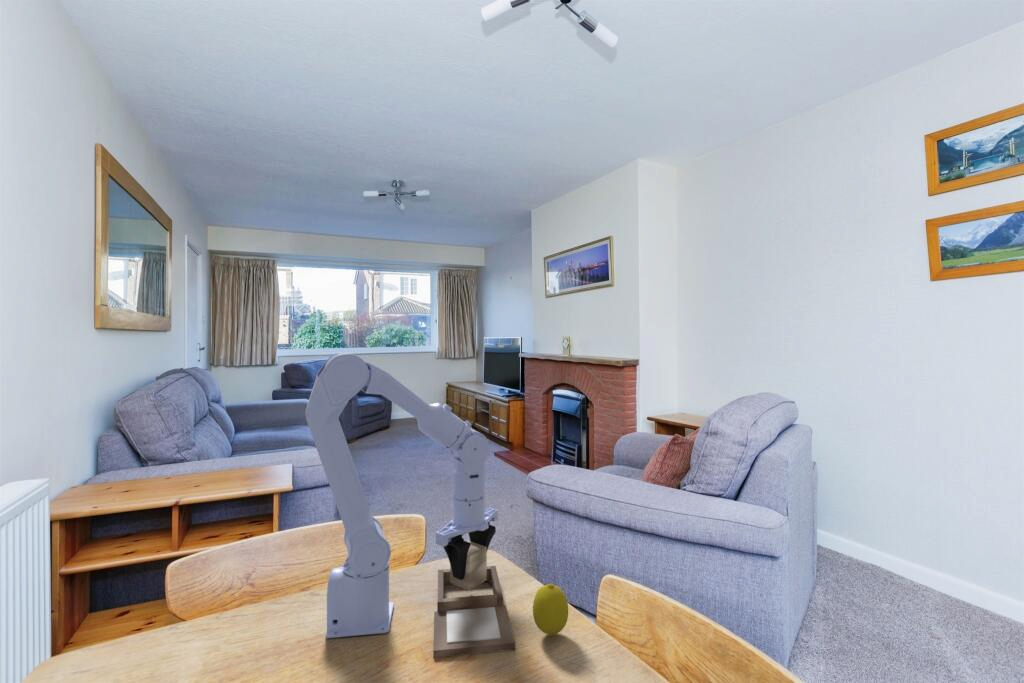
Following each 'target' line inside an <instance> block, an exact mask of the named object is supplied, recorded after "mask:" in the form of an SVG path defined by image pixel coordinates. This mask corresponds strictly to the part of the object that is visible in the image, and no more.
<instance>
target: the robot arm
mask: <svg viewBox="0 0 1024 683" xmlns="http://www.w3.org/2000/svg"><path fill="white" fill-rule="evenodd" d="M361 391H362V392H363V393H365V394H367V395H368V394H369V395H381V396H383V397H384V398H386V399H387V400H389V401H390V402H392V403H393V404H395V405H396V406H397V407H399V408H401V409H403V411H405V412H407V413H408V414H409V415H411V416H412V417H414V418H415V419H416V421H417V429H418V431H420V432H421V433H423V434H424V436H425V435H426V436H427V437H428V438H430V439H431V440H432V441H434V442H435V443H437V444H438V445H439V446H441V447H442V448H443V449H445V450H448V451H449V453H450V454H451V455H454V456H453V470H452V473H453V474H452V519H451V520H450V521H449V522H448V523H447V524H446V525H445V526H443V527H442V528H441V529H440V530H438V531H436V532H435V545H439V546H442V549H444V551H445V553H446V555H447V559H448V562H449V566H450V565H451V569H452V573H453V577H455V578H457V579H460V580H463V579H464V577H465V571H466V559H467V554H468V550H469V547H470V545H471V543H469V542H467V540H465V538H463V536H464V535H466V534H468V536H469V541H471V542H474V543H477V544H480V545H483V546H485V547H487V551H488V549H489V547H490V543H491V542H492V539H493V537H494V535H495V533H496V528H497V527H496V526H495V525H492V524H491V522H497V521H498V519H499V518H498V516H499V515H498V514H499V510H498V509H495V508H491V507H488V508H487V509H486V505H485V504H486V501H485V500H486V461H487V460H488V458H489V456H490V454H491V450H492V449H491V448H492V447H491V446H490V445H489V441H488V439H487V436H485V434H483V433H481V432H479V431H477V430H475V429H474V428H473V427H472V426H473V424H472V423H471V422H470V421H468V420H465V421H464V420H463V419H462V418H460V417H459V416H457V415H456V414H455V413H454V412H452V410H453V408H452V406H450V405H448V404H446V403H444V404H442V403H441V402H434V403H430V404H429V403H427V402H425V401H424V399H422V398H421V397H419V396H418V395H417V394H416V393H414V391H412V390H411V389H409V388H408V387H406V386H405V385H404V384H403V383H401V382H400V380H398V379H397V378H395V377H394V376H393V375H391V374H390V373H388V371H385V370H383V369H381V368H380V367H378V366H376V365H374V364H372V363H370V362H367V361H365V360H364V359H363V358H361V357H360V356H359V355H356V354H353V353H349V352H337V353H334V354H332V355H331V356H329V357H328V358H327V359H326V360H325V362H324V363H323V364H322V365H321V367H320V368H319V370H317V373H316V375H315V379H314V383H313V386H312V390H311V392H310V395H309V398H308V401H307V405H306V408H305V412H304V414H305V420H306V422H307V425H308V428H309V431H310V435H311V436H312V440H313V443H314V445H315V449H316V451H317V453H318V457H319V459H320V462H321V464H322V467H323V470H324V474H325V477H326V479H327V481H328V482H327V483H328V484H329V485H328V486H330V491H331V493H332V496H333V498H334V501H335V505H336V506H337V510H338V513H339V516H340V518H341V522H342V524H343V527H344V536H343V537H344V538H343V539H344V545H345V547H346V549H347V550H346V551H347V557H346V559H345V561H344V562H343V565H342V566H338V567H333V568H332V569H331V570H330V572H329V578H328V580H327V591H326V632H325V638H326V639H333V638H342V637H343V638H344V637H354V636H364V635H365V636H366V635H376V634H378V635H379V634H387V633H388V632H389V631H390V628H391V623H392V616H393V612H394V611H393V610H394V602H392V601H390V559H391V554H392V550H391V546H390V543H389V541H388V540H387V539H386V537H385V534H384V531H383V526H382V524H381V523H380V522H379V520H378V519H377V518H376V517H374V516H373V513H372V511H371V509H370V506H369V502H368V500H367V497H366V494H365V492H364V488H363V485H362V482H361V479H360V477H359V473H358V471H357V468H356V464H355V462H354V459H353V456H352V453H351V451H350V448H349V445H348V442H347V439H346V435H345V433H344V431H343V428H342V424H341V422H340V419H339V418H340V416H341V414H342V413H343V411H344V409H345V407H346V406H347V404H349V401H350V400H351V399H352V398H353V397H354V396H356V395H357V394H358V393H359V392H361Z"/></svg>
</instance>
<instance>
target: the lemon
mask: <svg viewBox="0 0 1024 683" xmlns="http://www.w3.org/2000/svg"><path fill="white" fill-rule="evenodd" d="M532 615H533V616H532V617H533V621H534V623H535V625H536V626H537V628H538V629H539V630H540V631H541V632H542V633H543V634H545V635H548V636H549V637H552V636H554V635H556V634H558V633H561V632H562V631H563V630H564V628H565V626H566V625H567V623H568V619H569V603H568V600H567V596H566V594H565V593H564V591H563V590H562V589H561V587H559V586H558V585H555V584H553V583H548V584H545V585H542V586H541V587H540V588H539V589H538V590H537V592H535V596H534V599H533V604H532Z"/></svg>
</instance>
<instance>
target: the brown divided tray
mask: <svg viewBox="0 0 1024 683" xmlns="http://www.w3.org/2000/svg"><path fill="white" fill-rule="evenodd" d="M486 581H491V582H490V584H492V585H491V589H493V590H492V594H482V595H471V596H460V597H459V596H456V597H446V598H444V586H452V585H451V584H452V583H450V568H443V569H437V600H436V601H437V602H436V604H437V608H436V610H437V611H434V612H433V615H434V616H433V644H432V645H433V649H432V650H433V651H432V652H433V653H432V656H433V657H432V658H442V657H453V656H462V655H464V656H465V655H473V654H474V655H475V654H484V653H493V652H504V651H513V650H516V641H515V636H514V633H513V628H512V625H511V622H510V621H511V620H510V617H509V613H508V609H507V608H508V607H507V605H504V596H503V590H502V587H501V583H500V579H499V574H498V571H497V566H496V565H490V566H489V565H487V571H486Z"/></svg>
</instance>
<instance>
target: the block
mask: <svg viewBox="0 0 1024 683" xmlns="http://www.w3.org/2000/svg"><path fill="white" fill-rule="evenodd" d="M466 541H467V542H469V543H471V545H470V547H469V550H468V554H467V559H466V571H465V577H464V579H463V580H460V579H457V578H455V577H453V573H452V569H451V565H450V564H449V566H450V567H449V569H450V583H452V584H454V586H457V587H459V588H461V589H464V590H467V591H469V592H470V591H472V590H474V589H476V588H477V587H478V586H480V585H482V584H483V583H485V582H484V581H486V571H487V566H488V565H487V564H488V563H487V561H488V560H487V556H488V555H487V553H488V550H487V547H485V546H483V545H480V544H477V543H474V542H471V541H470V540H468V539H467V540H466Z"/></svg>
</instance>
